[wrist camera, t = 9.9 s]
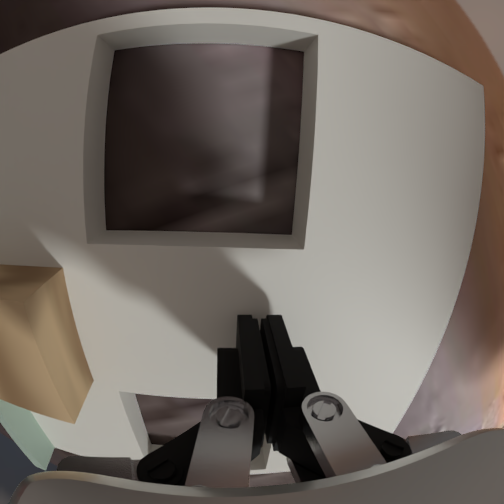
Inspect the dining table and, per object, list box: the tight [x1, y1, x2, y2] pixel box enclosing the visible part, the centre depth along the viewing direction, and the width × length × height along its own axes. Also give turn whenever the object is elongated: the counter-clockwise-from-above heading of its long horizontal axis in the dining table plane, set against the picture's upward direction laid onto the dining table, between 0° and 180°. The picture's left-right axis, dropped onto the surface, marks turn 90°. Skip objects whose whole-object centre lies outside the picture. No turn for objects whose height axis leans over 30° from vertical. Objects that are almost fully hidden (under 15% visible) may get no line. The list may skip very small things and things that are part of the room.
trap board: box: [0, 8, 485, 474], centre depth 11 cm, size 26×25×4 cm
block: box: [0, 264, 94, 424], centre depth 9 cm, size 6×6×3 cm
